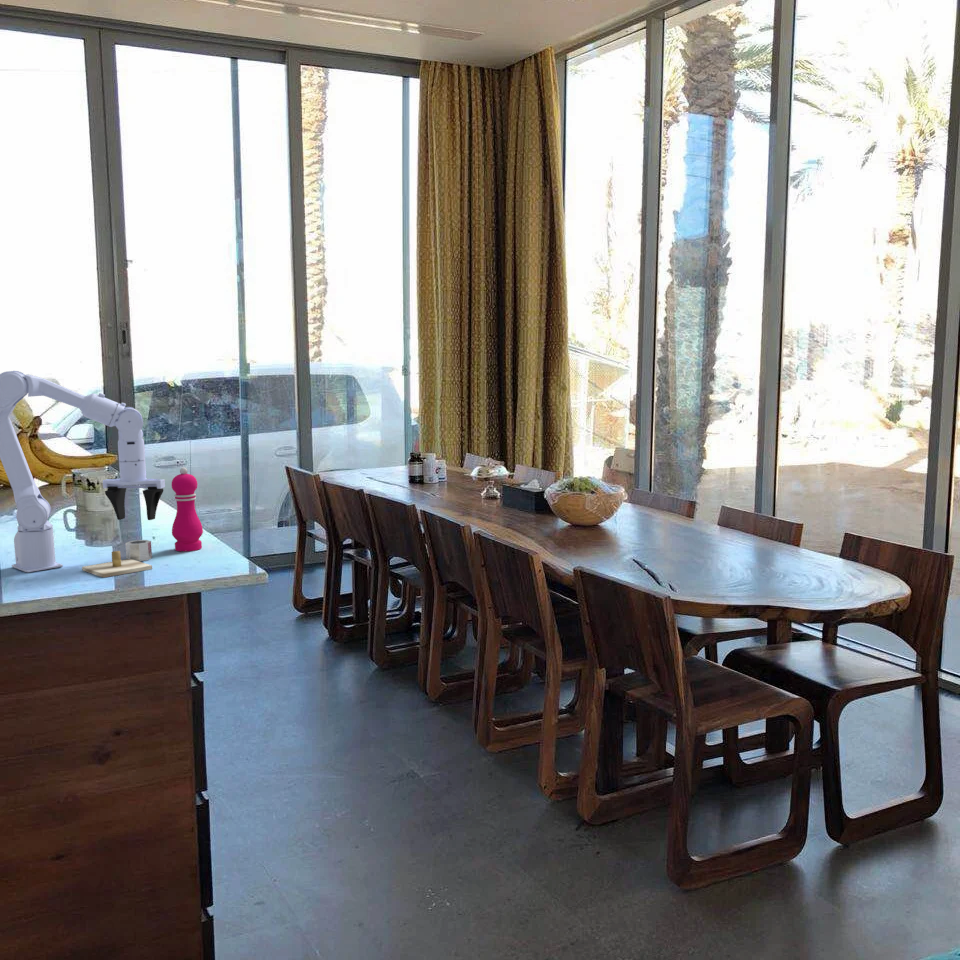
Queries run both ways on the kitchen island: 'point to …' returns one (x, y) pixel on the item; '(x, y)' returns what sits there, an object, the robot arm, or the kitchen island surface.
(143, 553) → the collar
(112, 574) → the post block
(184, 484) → the pepper mill
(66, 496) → the kitchen island surface
